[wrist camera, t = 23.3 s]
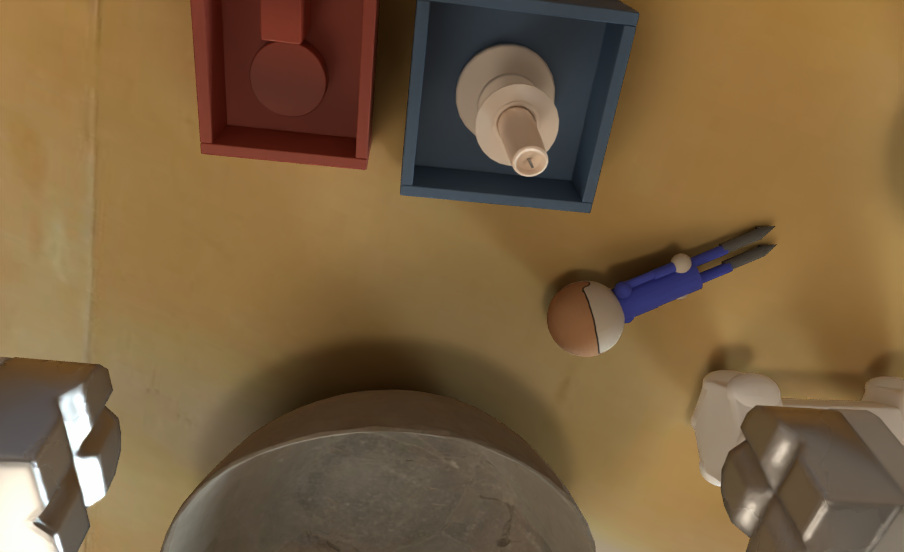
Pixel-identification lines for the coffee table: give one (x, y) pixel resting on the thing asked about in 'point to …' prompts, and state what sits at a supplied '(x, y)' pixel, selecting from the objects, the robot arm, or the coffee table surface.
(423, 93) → the blue bin
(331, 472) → the bowl
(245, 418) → the coffee table surface
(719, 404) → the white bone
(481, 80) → the candle
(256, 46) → the red bin
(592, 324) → the toy
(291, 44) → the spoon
